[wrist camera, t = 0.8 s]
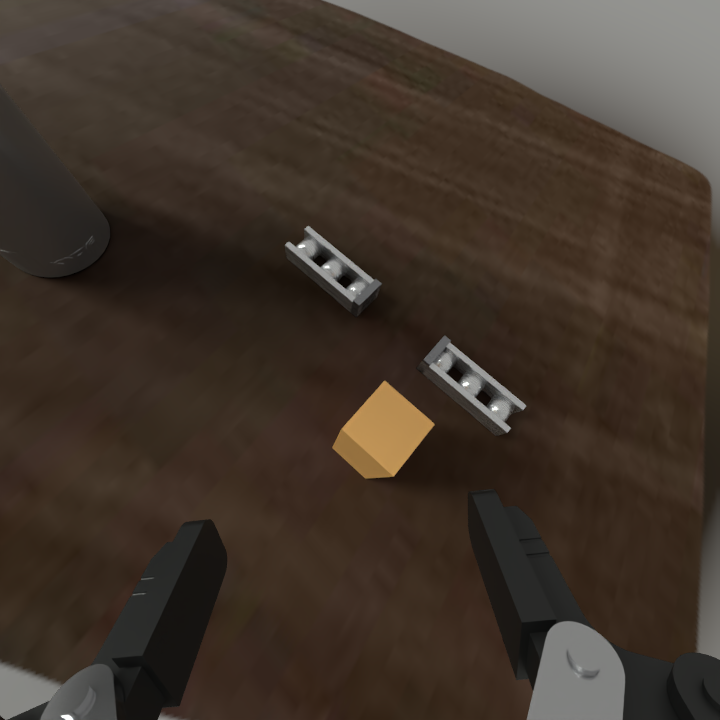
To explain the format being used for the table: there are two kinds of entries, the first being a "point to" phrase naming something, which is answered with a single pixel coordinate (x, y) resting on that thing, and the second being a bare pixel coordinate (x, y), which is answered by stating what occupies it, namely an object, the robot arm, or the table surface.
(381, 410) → the tall wooden pillar
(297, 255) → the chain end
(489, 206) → the table surface
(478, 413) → the chain end
